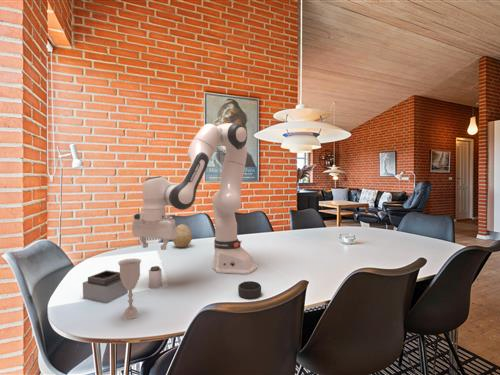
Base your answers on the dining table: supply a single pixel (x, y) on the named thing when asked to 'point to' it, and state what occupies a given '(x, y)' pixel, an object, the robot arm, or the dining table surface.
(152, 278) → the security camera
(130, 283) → the chalice
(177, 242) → the fossilized egg
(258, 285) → the smart speaker
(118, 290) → the motor block
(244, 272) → the robot arm
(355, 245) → the dining table surface
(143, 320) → the dining table surface
